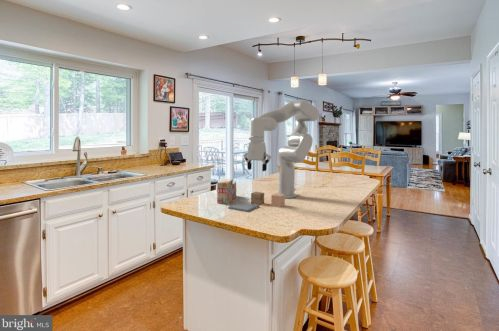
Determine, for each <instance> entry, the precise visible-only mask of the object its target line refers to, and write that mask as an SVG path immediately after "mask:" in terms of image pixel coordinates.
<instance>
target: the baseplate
mask: <svg viewBox="0 0 499 331" xmlns="http://www.w3.org/2000/svg"><path fill="white" fill-rule="evenodd" d="M259 207H260V205H257V204H251V203H248V202H242V201H241V202H237V203H235V204H231V205H229V206H228V209H230V210H236V211H241V212H246V213H248V212H251V211H253V210H256V209H258V208H259Z"/></svg>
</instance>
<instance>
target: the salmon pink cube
mask: <svg viewBox="0 0 499 331" xmlns="http://www.w3.org/2000/svg"><path fill="white" fill-rule="evenodd" d="M285 200H286V198H285V195H284V194H277V193H273V194H272V195H271V204H270V205H271V207H276V208H277V207H278V208H282V207H283V206H285V205H286V204H285V202H286V201H285Z"/></svg>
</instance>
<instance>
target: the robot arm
mask: <svg viewBox="0 0 499 331" xmlns="http://www.w3.org/2000/svg"><path fill="white" fill-rule="evenodd" d="M291 118H294V122H295V127H294V128H293V130H292V132H291V134H290V136H289V137H288V139H287V145H284V146H282V147H280V148H279V149H278V153H277V156H278V161H279V162H278V163H279V171H278V172H279V176H278V177H279V180H278V186H279V187H278V192H277V193H276V194H284V195H285V199H294V198H296V197H298V196H297V193H295V191H296V188H295V178H296V177H295V176H296V175H295V173H296V169H295V165H294V163H297V164H298V163H302V162H304V160H305V159H306V157H307V155H308V153H309V152H310V150H311V148H312V146H313V141H314V140H313V137H312V135H311V134H309V133H308V126H307V123H306V122H316V121H318V119H319V118H320V111H319V109H318V108H317V107H316V106H314V105H313V104H311V103H310V102H308V101H306V100H292V101H289V102H288V103H286V104H284V105H282V106H281V107H279V108H277V109H273V110H271V111H269V112H265V113H263V114H262V115H259V116H258V117H252V118H251V119H250V137H249V138H248V140H249V143H248V145H247V152H246V153H244V154H243V157H244V161H246V163H247V165H246V166H247V170H248V171H249V170H250V171H251V170H252V169H253V168H252V164H253V163H252V161H257V162H258V161H260V162H262V165H261V166H262V168H261V170H262V172H266V171H267V169H268V168H267V167H268V166H267V164H268V163H269V162H270V160H271V158H272V156H271V155H270V154H269V153H267V147H266V142H265V132H273V131H275V130H276V129H277V128H278V124H279V123H280V124H281V123H284V122H286V121H288V120H290V119H291Z"/></svg>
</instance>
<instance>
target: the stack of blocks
mask: <svg viewBox="0 0 499 331" xmlns="http://www.w3.org/2000/svg"><path fill="white" fill-rule="evenodd" d="M216 186H217V187H216V188H217V191H216V192H217V194H216V195H217V198H216V200H217V201H216V203H217V204H226V205H227V204H229V203H230V202H232V200H233V199H234V198H236V197H237V181H234V179H233V178H232V179H231V178H222V179H221V180H219V181H217V183H216Z"/></svg>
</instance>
